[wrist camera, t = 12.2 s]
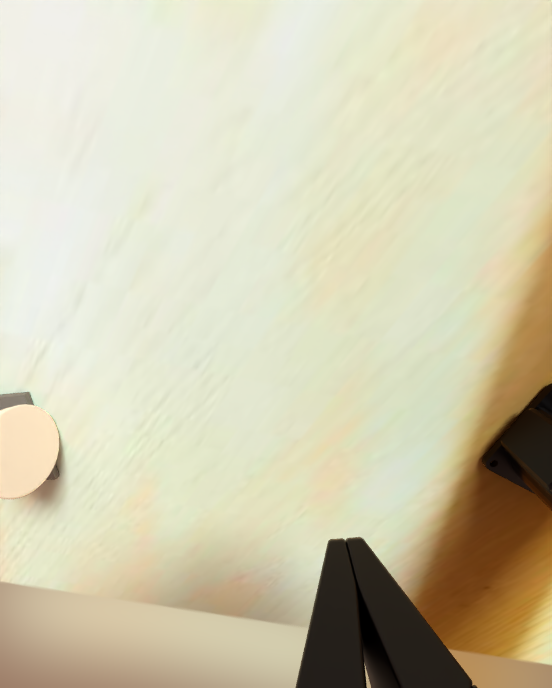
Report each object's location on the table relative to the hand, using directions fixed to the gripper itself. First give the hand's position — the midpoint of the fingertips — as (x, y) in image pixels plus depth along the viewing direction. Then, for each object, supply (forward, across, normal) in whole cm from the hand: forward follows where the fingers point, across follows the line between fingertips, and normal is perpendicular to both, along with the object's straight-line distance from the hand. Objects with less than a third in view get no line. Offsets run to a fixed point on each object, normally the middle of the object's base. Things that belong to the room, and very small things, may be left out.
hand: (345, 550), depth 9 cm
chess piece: (+10, +16, +2) cm, 18 cm away
